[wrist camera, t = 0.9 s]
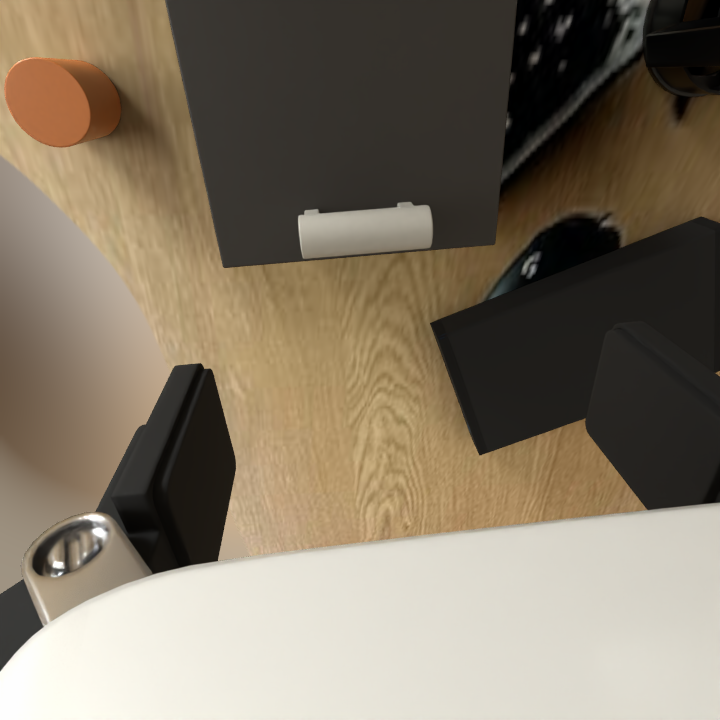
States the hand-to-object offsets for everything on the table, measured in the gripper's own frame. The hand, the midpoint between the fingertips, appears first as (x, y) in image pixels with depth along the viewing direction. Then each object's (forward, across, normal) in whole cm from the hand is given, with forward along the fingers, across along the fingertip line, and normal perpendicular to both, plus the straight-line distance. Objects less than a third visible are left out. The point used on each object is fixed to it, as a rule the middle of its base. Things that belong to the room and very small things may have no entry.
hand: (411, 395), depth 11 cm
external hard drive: (+27, -20, +15) cm, 37 cm away
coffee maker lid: (+15, 0, -7) cm, 16 cm away
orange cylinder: (+27, +16, -6) cm, 32 cm away
